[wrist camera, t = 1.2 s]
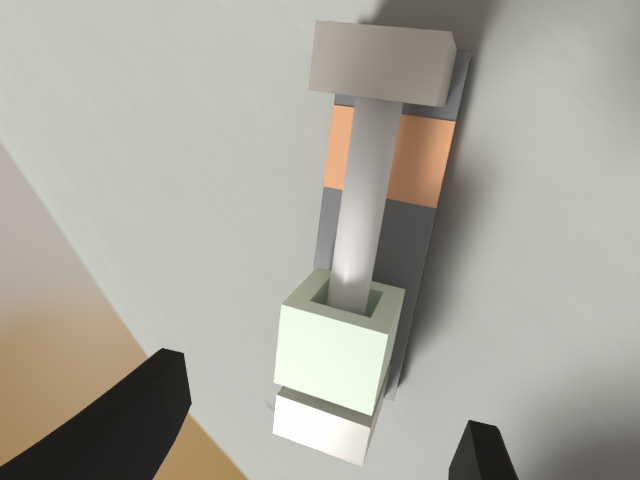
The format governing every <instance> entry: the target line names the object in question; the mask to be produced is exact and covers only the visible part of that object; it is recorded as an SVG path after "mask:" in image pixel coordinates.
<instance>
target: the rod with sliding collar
mask: <svg viewBox="0 0 640 480" xmlns="http://www.w3.org/2000/svg"><path fill="white" fill-rule="evenodd" d="M470 58H471V52H465V51H457V49H456V46H455V42H454V39H453V36H452V32H451V31H440V30H428V29H416V28H404V27H392V26H379V25H367V24H355V23H343V22H331V21H319V20H316V26H315V35H314V45H313V55H312V64H311V74H310V83H309V90H313V91H320V92H328V93H335V101H334V105H333V113H332V121H331V129H330V137H329V145H328V153H327V162H326V170H325V178H324V189H323V197H322V205H321V213H320V221H319V229H318V237H317V245H316V253H315V261H314V269H313V272H314V271H315V269H316V268H317V267H319V268H323V269H327V270H331V277H330V284H329V291H328V298H327V305H326V306H329V307H333V308H336V309H340V310H344V311H347V312H351V313H354V314H358V315H362V316H365V314H366V309H367V303H368V297H369V292H370V286H371V281H374V282H378V283H382V284H386V285H390V286H394V287H398V288H402V289H405V293H404V298H403V303H402V308H401V312H400V317H399V322H398V327H397V332H396V336H395V341H394V346H393V351H392V355H391V359H390V362H389V365H388V369H387V372H386V375H385V378H384V381H383V384H382V387H381V390H380V393H379V396H378V399H377V402H376V405H375V408H374V411H373V414H372V416H370V415H367V414H364V413H362V412H359V411H356V410H353V409H350V408H347V407H344V406H341V405H338V404H335V403H332V402H329V401H326V400H323V399H321V398H318V397H315V396H312V395H309V394H306V393H303V392H300V391H297V390H294V389H291V388H288V387H285V386H283V387H282V388H281V390H280V391H279V393H278V394H277V398H276V408H275V418H274V427H273V433H275V434H277V435H280V436H283V437H285V438H288V439H291V440H293V441H296V442H298V443H301V444H304V445H306V446H309V447H312V448H314V449H317V450H320V451H322V452H325V453H328V454H330V455H333V456H336V457H338V458H341V459H344V460H346V461H349V462H351V463H354V464H357V465H359V466H362V467H363V464H364V461H365V457H366V454H367V451H368V448H369V444H370V441H371V438H372V435H373V431H374V428H375V425H376V422H377V418H378V415H379V412H380V409H381V406H382V402H383V399H384V398H386V399H389V400H392V401H394V398H395V395H396V391H397V387H398V382H399V378H400V373H401V369H402V364H403V360H404V355H405V351H406V346H407V342H408V337H409V333H410V328H411V324H412V319H413V315H414V310H415V306H416V301H417V297H418V292H419V288H420V283H421V279H422V274H423V270H424V265H425V261H426V256H427V252H428V247H429V243H430V238H431V234H432V229H433V225H434V220H435V216H436V211H437V207H438V202H439V198H440V193H441V189H442V184H443V179H444V175H445V170H446V166H447V161H448V157H449V152H450V148H451V143H452V139H453V134H454V130H455V125H456V121H457V116H458V112H459V107H460V103H461V98H462V94H463V89H464V85H465V80H466V76H467V71H468V67H469V62H470Z"/></svg>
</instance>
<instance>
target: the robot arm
mask: <svg viewBox="0 0 640 480" xmlns="http://www.w3.org/2000/svg"><path fill="white" fill-rule="evenodd" d="M191 404H192V402H191V396H190V390H189V383H188V377H187V371H186V365H185V359H184V353H181V352H177V351H173V350H168V349H164V348H162V349H160V350H159V351H157V352H156V353H155V354H154V355H152V356H151V357H150V358H148V359H147V360H146V361H145V362H143V363H142V364H141V365H140V366H139V367H137V368H136V369H135V370H134V371H132V372H131V373H130V374H129V375H127V376H126V377H125V378H123V380H121V381H120V382H118V383H117V384H116V385H115V386H113V387H112V388H111V389H110V390H108V391H107V392H106V393H104V394H103V395H102V396H100V397H99V398H98V399H96V400H95V401H94V402H93V403H91V404H90V405H89V406H87V407H86V408H85V409H83V410H82V411H81V412H80V413H78V414H77V415H75V416H74V417H73V418H71V419H70V420H69V421H67V422H66V423H64V424H63V425H61V426H60V427H58V428H57V429H56V430H54V431H53V432H51V433H50V434H49V435H47V436H46V437H44V438H43V439H42V440H40V441H39V442H37V443H36V444H34V445H33V446H31V447H30V448H28V449H27V450H25V451H24V452H22V453H21V454H19V455H18V456H16V457H15V458H13V459H12V460H10V461H9V462H7V463H5V464H4V465H2V466H0V480H152V479H153V478H154V476H155V474H156V473H157V471H158V469H159V467H160V466H161V464H162V462H163V461H164V459H165V457H166V455H167V454H168V452H169V450H170V448H171V447H172V445H173V443H174V441H175V439H176V437H177V435H178V433H179V431H180V429H181V427H182V424H183V422H184V420H185V417H186V415H187V413H188V411H189V408H190V406H191ZM449 480H519V479H518V477H517V474H516V472H515V470H514V467H513V465H512V462H511V460H510V457H509V454H508V452H507V449H506V447H505V444H504V441H503V439H502V436H501V433H500V430H499V429H498V428H497V427H496V426H493V425H489V424H484V423H480V422H476V421H472V420H469V421H468V423H467V426H466V428H465V431H464V433H463V435H462V438H461V440H460V443H459V445H458V448H457V450H456V453H455V455H454V457H453V460H452V462H451V465H450V467H449Z"/></svg>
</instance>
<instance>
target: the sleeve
mask: <svg viewBox="0 0 640 480" xmlns="http://www.w3.org/2000/svg"><path fill="white" fill-rule="evenodd" d="M330 277H331V270H327V269H323V268H319V267H317V268H316V269H315V271H314V272H313V273H312V274H311V275H310V276H309V277H308V278H307V279H306V280H305V281H304V282H303V283H302V284H301V285H300V286H299V287H298V288H297V289H296V290H295V291H294V292H293V293H292V294H291V295H290V296H289V297H288V298H287V299H286V300H285V301H284V302H283V303H282V305H281V314H280V324H279V334H278V344H277V354H276V364H275V374H274V383H277V384H280V385H282V386H285V387H288V388H291V389H294V390H297V391H300V392H303V393H306V394H309V395H312V396H315V397H318V398H321V399H323V400H326V401H329V402H332V403H335V404H338V405H341V406H344V407H347V408H350V409H353V410H356V411H359V412H362V413H364V414H367V415H370V416H372V414H373V411H374V408H375V405H376V402H377V399H378V396H379V393H380V390H381V387H382V384H383V381H384V378H385V375H386V372H387V369H388V365H389V362H390V359H391V355H392V351H393V346H394V341H395V336H396V332H397V327H398V322H399V317H400V312H401V308H402V303H403V298H404V293H405V289H402V288H398V287H394V286H390V285H386V284H382V283H378V282H374V281H371V286H370V292H369V297H368V303H367V309H366V314H365V316H362V315H358V314H354V313H351V312H347V311H344V310H340V309H336V308H333V307H329V306H326V305H327V298H328V291H329V284H330Z"/></svg>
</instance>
